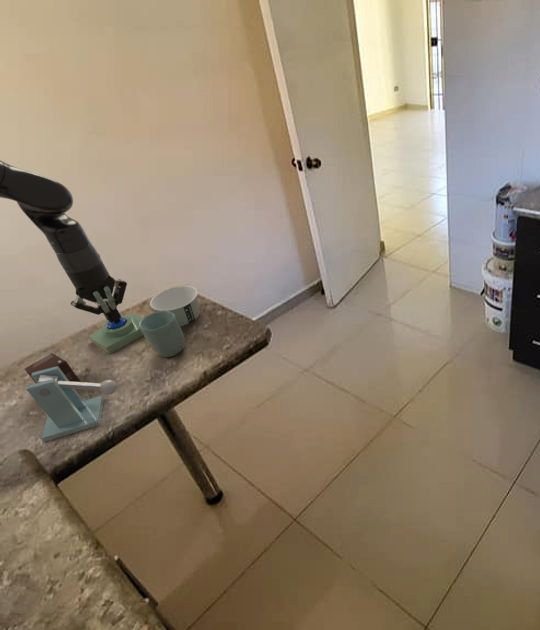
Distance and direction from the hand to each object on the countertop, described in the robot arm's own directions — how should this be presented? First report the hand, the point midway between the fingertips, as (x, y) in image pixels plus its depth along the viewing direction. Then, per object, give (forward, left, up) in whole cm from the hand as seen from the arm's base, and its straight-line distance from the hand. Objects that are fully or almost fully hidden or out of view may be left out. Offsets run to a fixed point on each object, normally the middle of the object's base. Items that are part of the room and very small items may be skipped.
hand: (115, 321), depth 113 cm
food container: (+14, +2, -5) cm, 15 cm away
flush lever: (-3, -28, +2) cm, 28 cm away
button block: (0, 0, -5) cm, 5 cm away
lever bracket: (-7, -28, -5) cm, 29 cm away
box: (-12, -15, -5) cm, 20 cm away
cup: (+12, -13, -5) cm, 18 cm away
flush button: (0, 0, -2) cm, 2 cm away
